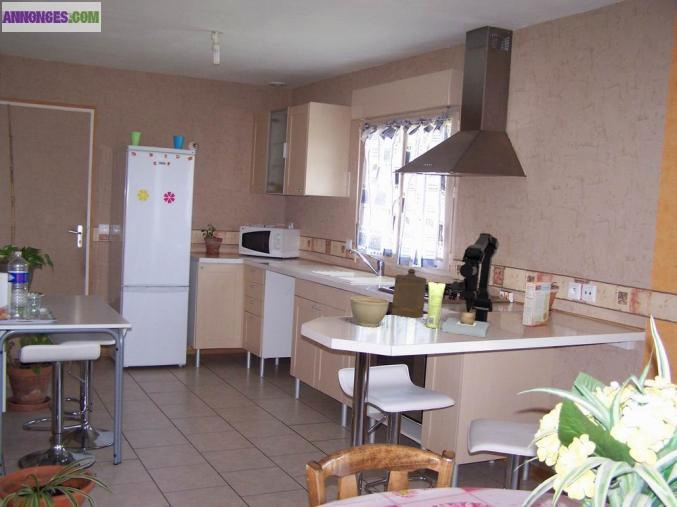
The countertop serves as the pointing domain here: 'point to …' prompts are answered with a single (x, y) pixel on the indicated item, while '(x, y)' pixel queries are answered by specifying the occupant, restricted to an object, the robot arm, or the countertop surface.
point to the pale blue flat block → (465, 327)
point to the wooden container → (409, 295)
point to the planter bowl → (368, 310)
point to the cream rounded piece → (467, 317)
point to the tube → (434, 303)
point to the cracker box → (536, 303)
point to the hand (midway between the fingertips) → (468, 311)
